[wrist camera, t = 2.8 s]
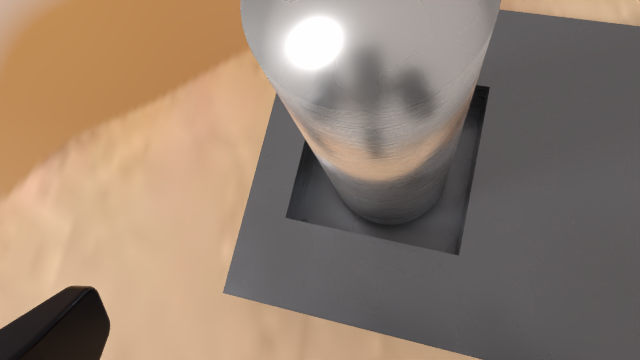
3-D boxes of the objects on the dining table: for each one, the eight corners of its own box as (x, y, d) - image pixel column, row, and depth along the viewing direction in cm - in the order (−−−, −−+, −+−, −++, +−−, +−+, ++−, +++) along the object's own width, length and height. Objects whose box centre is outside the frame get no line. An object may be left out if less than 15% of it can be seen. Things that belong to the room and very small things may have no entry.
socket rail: (917, 101, 18) (1009, 64, 15) (913, 464, 16) (1021, 497, 13) (316, 21, 23) (303, -18, 20) (245, 294, 20) (220, 292, 18)
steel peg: (470, 158, 20) (557, -46, 8) (400, 248, 20) (389, 165, 8) (379, 95, 21) (346, -159, 10) (311, 179, 21) (191, 21, 9)
